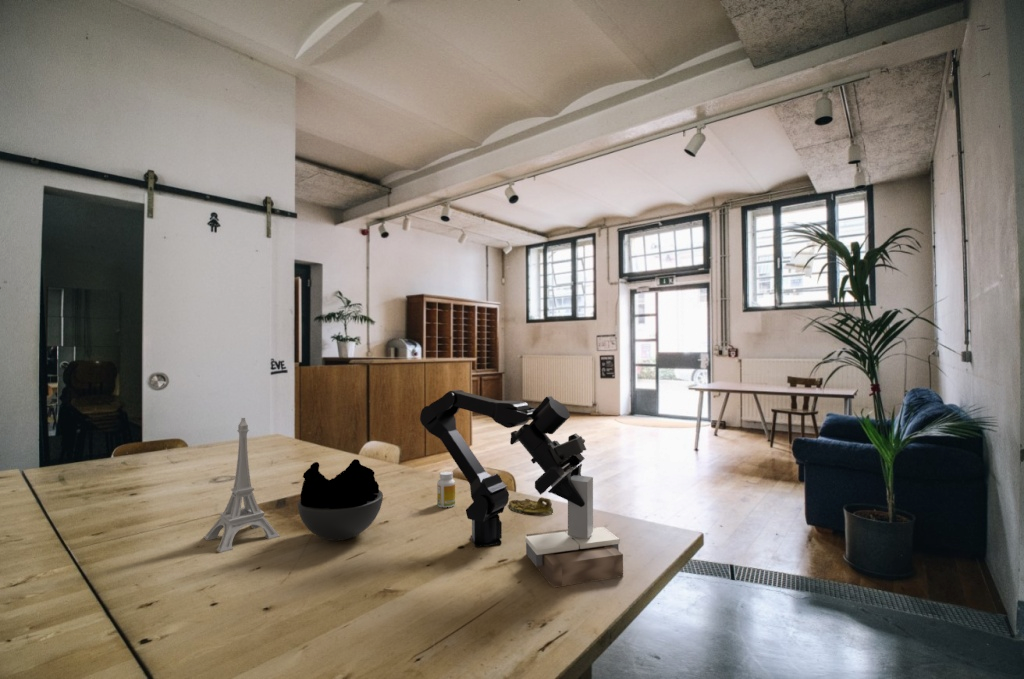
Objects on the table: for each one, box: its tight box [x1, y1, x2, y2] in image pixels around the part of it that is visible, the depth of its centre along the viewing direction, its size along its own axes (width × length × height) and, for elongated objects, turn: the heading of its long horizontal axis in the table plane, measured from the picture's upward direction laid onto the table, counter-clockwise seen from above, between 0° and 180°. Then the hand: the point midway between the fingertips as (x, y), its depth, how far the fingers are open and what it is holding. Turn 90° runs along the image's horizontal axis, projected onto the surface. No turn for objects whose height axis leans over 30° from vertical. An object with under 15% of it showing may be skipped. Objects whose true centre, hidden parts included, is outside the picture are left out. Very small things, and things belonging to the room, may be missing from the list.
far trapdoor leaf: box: [566, 526, 621, 552], centre depth 104 cm, size 9×7×4 cm
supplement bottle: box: [436, 471, 456, 509], centre depth 142 cm, size 5×5×10 cm
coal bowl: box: [297, 458, 384, 542], centre depth 118 cm, size 20×20×19 cm
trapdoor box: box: [526, 528, 624, 588], centre depth 102 cm, size 16×16×4 cm
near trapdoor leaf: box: [524, 532, 579, 567], centre depth 101 cm, size 9×7×4 cm
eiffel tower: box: [203, 417, 281, 554], centre depth 119 cm, size 13×13×30 cm
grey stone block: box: [567, 475, 594, 539], centre depth 103 cm, size 4×4×12 cm
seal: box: [508, 496, 554, 516], centre depth 139 cm, size 9×5×15 cm
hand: (586, 502), depth 103 cm, fingers closed on grey stone block, 4 cm apart
